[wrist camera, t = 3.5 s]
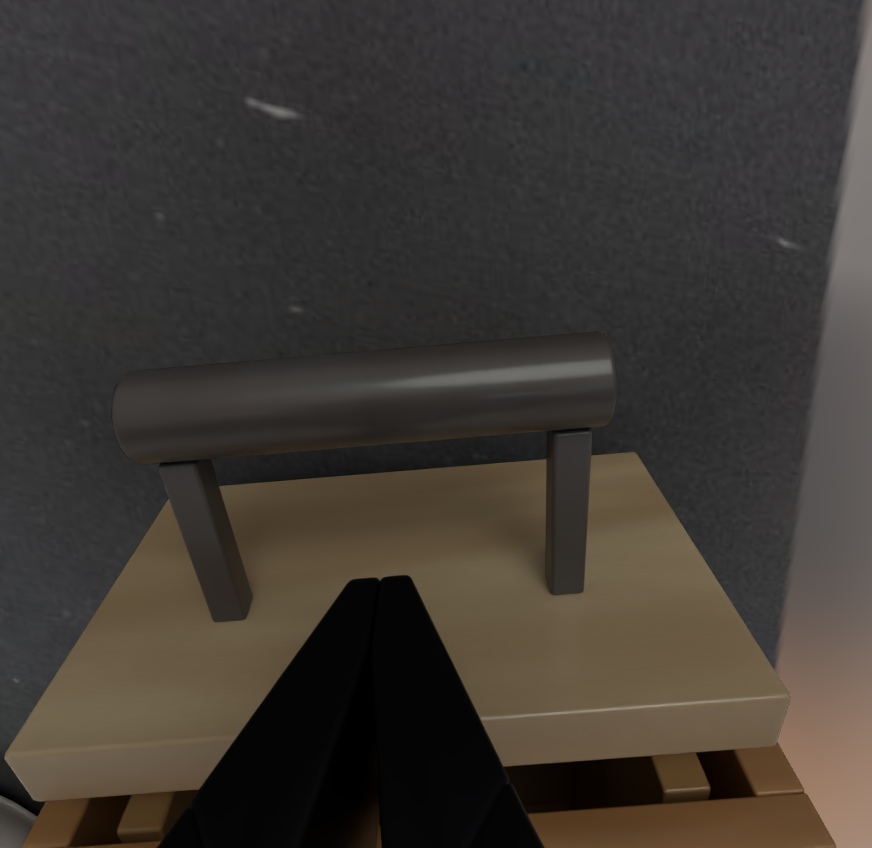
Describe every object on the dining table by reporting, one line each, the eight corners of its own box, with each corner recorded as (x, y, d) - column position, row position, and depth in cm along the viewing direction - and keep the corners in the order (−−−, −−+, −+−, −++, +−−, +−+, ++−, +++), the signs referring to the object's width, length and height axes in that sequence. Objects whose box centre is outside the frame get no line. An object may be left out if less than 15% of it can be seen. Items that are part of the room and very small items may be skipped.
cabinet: (187, 536, 16) (-15, 909, 9) (640, 500, 16) (838, 847, 8) (290, 825, 23) (228, 1173, 16) (608, 802, 23) (702, 1142, 15)
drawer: (107, 302, 12) (-193, 488, 6) (655, 254, 12) (891, 398, 6) (284, 800, 21) (230, 1080, 15) (604, 777, 21) (680, 1049, 15)
